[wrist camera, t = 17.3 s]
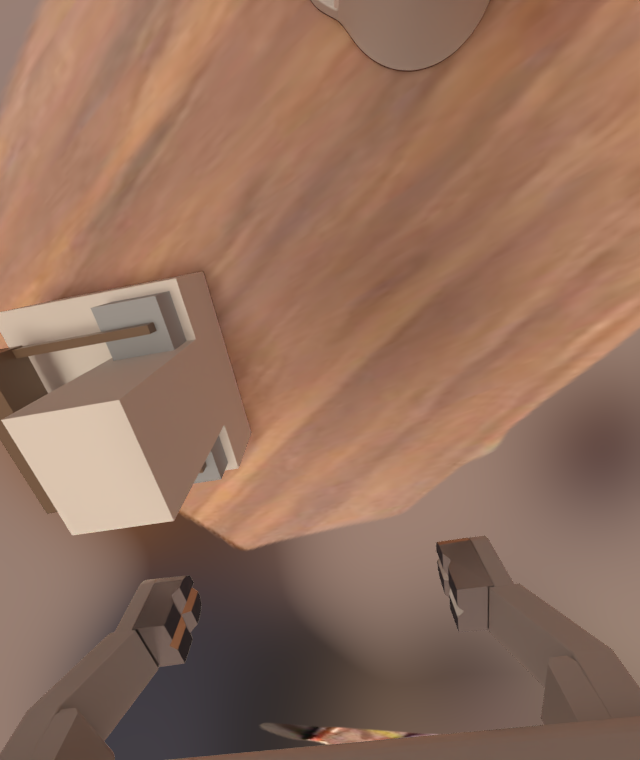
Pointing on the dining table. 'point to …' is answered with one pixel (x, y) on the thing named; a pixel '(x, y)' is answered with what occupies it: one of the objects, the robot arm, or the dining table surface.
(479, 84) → the dining table surface
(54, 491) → the pillar on square base
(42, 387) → the glasses frame
